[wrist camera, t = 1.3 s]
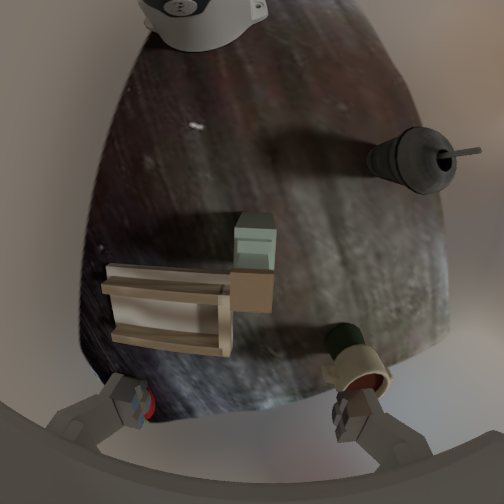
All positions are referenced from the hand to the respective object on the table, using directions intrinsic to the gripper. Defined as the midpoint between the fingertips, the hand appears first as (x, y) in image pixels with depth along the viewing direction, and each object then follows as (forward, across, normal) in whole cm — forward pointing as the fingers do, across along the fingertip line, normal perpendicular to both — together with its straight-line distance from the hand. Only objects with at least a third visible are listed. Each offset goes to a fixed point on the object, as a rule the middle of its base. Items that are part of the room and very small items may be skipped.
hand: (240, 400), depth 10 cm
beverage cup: (+29, -17, -12) cm, 36 cm away
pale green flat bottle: (+29, 0, 0) cm, 29 cm away
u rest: (+29, +13, +11) cm, 34 cm away
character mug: (+29, -15, +16) cm, 36 cm away
